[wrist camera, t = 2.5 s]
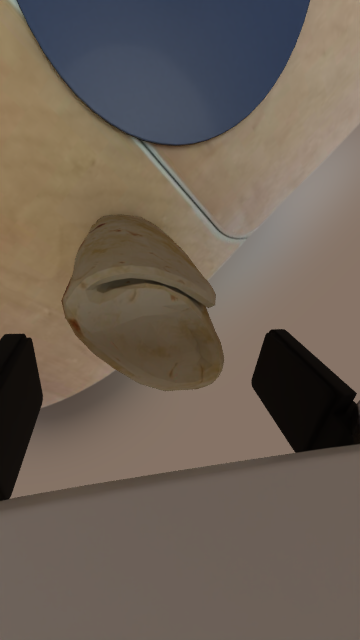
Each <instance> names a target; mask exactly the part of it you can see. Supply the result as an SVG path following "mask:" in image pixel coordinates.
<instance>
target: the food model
mask: <svg viewBox="0 0 360 640" xmlns="http://www.w3.org/2000/svg"><path fill="white" fill-rule="evenodd" d="M215 298H216V294H215V292H214V290H213V288H212V287H211V285H210V284H209V282H208V281H207V280H206V279H205V278H204V277H203V276H202V274H201V273H200V272H199V270H198V269H197V268H196V266H195V265H194V264H193V263H192V261H191V260H190V259H189V257H188V256H187V255H186V254H185V252H184V251H183V250H182V249H181V248H180V247H179V246H178V245H177V244H176V243H175V242H174V241H173V240H172V239H171V238H170V237H168V236H167V235H166V234H165V233H164V232H163V231H162V230H161V229H159V228H158V227H157V226H155V225H154V224H152V223H151V222H149V221H147V220H145V219H143V218H141V217H135V216H128V215H109V216H103V217H102V218H100V219H99V220H98V221H97V223H96V224H94V225H93V226H92V228H91V230H90V232H89V234H88V235H87V237H86V238H85V239H84V241H83V243H82V244H81V246H80V248H79V250H78V253H77V255H76V258H75V264H74V271H73V275H72V277H71V279H70V281H69V284H68V286H67V288H66V291H65V293H64V296H63V298H62V305H63V309H64V314H65V318H66V319H67V321H68V323H69V324H70V326H71V328H72V329H73V331H74V333H75V335H76V336H77V337H78V338H79V339H80V340H81V341H82V342H83V343H84V344H85V345H86V346H87V347H88V348H89V349H90V350H91V351H92V352H93V353H94V354H95V355H96V356H98V357H99V358H101V359H102V360H103V361H105V362H106V363H107V364H109V365H110V366H111V367H112V368H114V369H116V370H117V371H119V372H121V373H122V374H124V375H126V376H127V377H129V378H131V379H132V380H134V381H136V382H138V383H140V384H142V385H146V386H149V387H152V388H156V389H159V390H163V391H173V390H189V389H199V388H202V387H205V386H208V385H210V384H212V383H213V382H214V381H215V380H216V379H217V378H218V377H219V375H220V373H221V371H222V368H223V363H224V355H223V351H222V346H221V342H220V340H219V338H218V336H217V334H216V332H215V329H214V327H213V324H212V322H211V319H210V317H209V314H208V312H207V309H206V307H208V308H209V307H212V306H214V305H215Z"/></svg>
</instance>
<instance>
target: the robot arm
mask: <svg viewBox="0 0 360 640" xmlns="http://www.w3.org/2000/svg"><path fill="white" fill-rule="evenodd" d="M252 387H253V388H254V390H255V392H256V393H257V395H258V396H259V398H260V399H261V401H262V402H263V404H264V405H265V407H266V409H267V410H268V411H269V413H270V415H271V416H272V418H273V419H274V421H275V422H276V424H277V425H278V427H279V428H280V430H281V432H282V433H283V435H284V436H285V438H286V439H287V441H288V442H289V444H290V445H291V447H292V448H293V450H294V451H295V453H292V454H285V455H278V456H271V457H265V458H258V459H251V460H245V461H238V462H231V463H225V464H218V465H212V466H206V467H200V468H192V469H186V470H179V471H173V472H167V473H161V474H154V475H148V476H141V477H135V478H130V479H123V480H116V481H110V482H104V483H98V484H92V485H85V486H79V487H74V488H68V489H62V490H57V491H51V492H45V493H39V494H34V495H28V496H22V497H17V498H12V499H9V498H10V497H11V494H12V491H13V488H14V485H15V482H16V480H17V477H18V474H19V471H20V468H21V465H22V461H23V458H24V456H25V453H26V450H27V447H28V444H29V441H30V438H31V435H32V432H33V429H34V426H35V423H36V420H37V417H38V414H39V411H40V408H41V405H42V400H43V394H42V389H41V384H40V378H39V373H38V368H37V363H36V358H35V352H34V347H33V342H32V339H31V338H26V336H25V334H5V335H4V336H3V337H2V338H1V340H0V640H360V401H359V402H358V403H357V404H356V403H355V402H354V401H353V400H354V398H355V396H356V394H357V393H356V392H355V391H353V390H352V389H351V388H350V387H349V386H348V385H347V384H346V383H344V382H343V381H342V380H341V379H340V378H339V377H338V376H337V375H336V374H334V373H333V372H332V371H331V370H330V369H329V368H328V367H327V366H325V365H324V364H323V363H322V362H321V361H320V360H319V359H318V358H316V357H315V356H314V355H313V354H312V353H311V352H310V351H308V350H307V349H306V348H305V347H304V346H303V345H302V344H301V343H300V342H298V341H297V340H296V339H295V338H294V337H293V336H292V335H291V334H289V333H288V332H287V331H286V330H283V329H277V330H270V331H269V333H267V334H266V336H265V338H264V342H263V345H262V348H261V351H260V355H259V358H258V361H257V365H256V367H255V371H254V374H253V377H252Z"/></svg>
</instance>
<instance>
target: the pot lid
mask: <svg viewBox="0 0 360 640" xmlns="http://www.w3.org/2000/svg"><path fill="white" fill-rule="evenodd" d="M17 2H18V4H19V6H20V8H21V11H22V13H23V15H24V17H25V19H26V21H27V24H28V26H29V27H30V29H31V31H32V33H33V34H34V36H35V38H36V40H37V41H38V43H39V45H40V47H41V48H42V50H43V52H44V54H45V55H46V57H47V58H48V59H49V61H50V62H51V64H52V65H53V67H54V68H55V70H56V71H57V72H58V74H59V75H60V77H61V78H62V79H63V80H64V81H65V83H66V84H67V85H68V86H69V87H70V88H71V90H72V91H73V92H74V93H75V94H76V96H77V97H78V98H80V99H81V100H82V101H83V102H84V103H85V104H86V105H87V106H88V107H89V108H90V109H91V110H92V111H93V112H94V113H96V114H97V115H98V116H100V117H101V118H102V119H104V120H105V121H106V122H108V123H109V124H110V125H112V126H114V127H116V128H117V129H119V130H121V131H123V132H124V133H126V134H128V135H131V136H133V137H136V138H138V139H141V140H143V141H147V142H152V143H156V144H161V145H173V146H177V145H190V144H194V143H198V142H203V141H206V140H209V139H211V138H213V137H216V136H218V135H220V134H222V133H224V132H226V131H227V130H229V129H231V128H232V127H234V126H236V125H237V124H238V123H239V122H241V121H242V120H243V119H244V118H245V117H247V116H248V115H249V114H250V113H251V112H252V111H253V110H254V109H255V108H256V107H257V106H258V105H259V104H260V103H261V102H262V100H263V99H264V98H265V96H266V95H267V94H268V92H269V91H270V90H271V88H272V87H273V86H274V84H275V83H276V81H277V79H278V78H279V76H280V74H281V73H282V71H283V69H284V68H285V66H286V64H287V62H288V60H289V58H290V55H291V53H292V51H293V49H294V47H295V45H296V42H297V39H298V37H299V34H300V31H301V29H302V26H303V23H304V20H305V17H306V13H307V10H308V6H309V2H310V0H17Z"/></svg>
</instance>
